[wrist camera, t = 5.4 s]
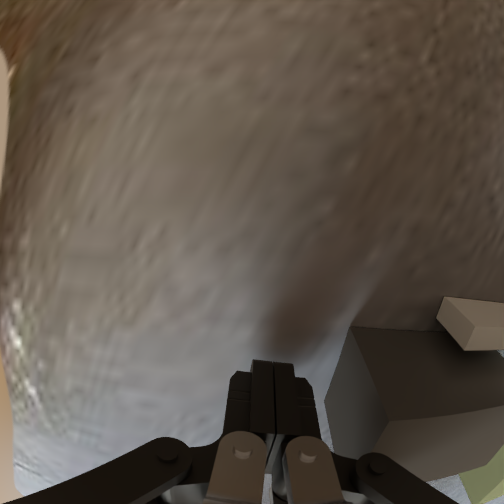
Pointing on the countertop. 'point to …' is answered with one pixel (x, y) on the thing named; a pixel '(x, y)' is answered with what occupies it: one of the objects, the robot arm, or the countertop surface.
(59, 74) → the countertop surface
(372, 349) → the dark grey box
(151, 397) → the countertop surface
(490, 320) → the two-prong plug
